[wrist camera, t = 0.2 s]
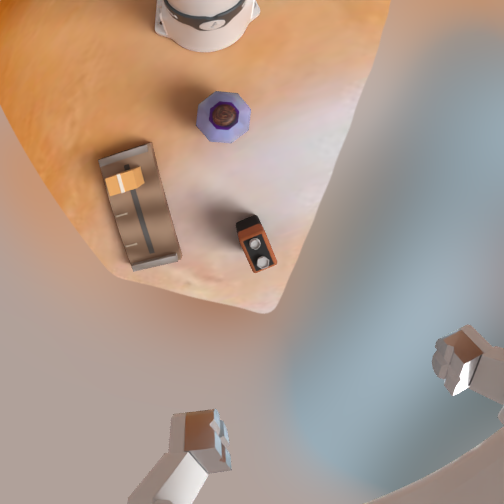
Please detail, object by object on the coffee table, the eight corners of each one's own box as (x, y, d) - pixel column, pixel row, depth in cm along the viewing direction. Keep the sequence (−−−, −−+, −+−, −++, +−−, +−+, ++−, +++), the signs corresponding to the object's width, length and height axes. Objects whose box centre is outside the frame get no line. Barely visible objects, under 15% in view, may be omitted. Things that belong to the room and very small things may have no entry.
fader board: (102, 158, 48) (95, 160, 45) (151, 142, 48) (147, 143, 45) (135, 265, 57) (131, 273, 54) (182, 255, 57) (180, 261, 54)
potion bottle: (205, 149, 50) (202, 153, 39) (191, 103, 47) (184, 95, 36) (253, 135, 50) (263, 136, 39) (240, 89, 46) (246, 78, 35)
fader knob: (114, 174, 47) (104, 178, 43) (140, 166, 47) (132, 169, 43) (119, 190, 49) (109, 196, 44) (144, 183, 49) (137, 188, 44)
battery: (248, 253, 58) (254, 277, 49) (234, 222, 56) (238, 241, 47) (269, 244, 58) (279, 267, 49) (256, 213, 56) (264, 230, 46)
